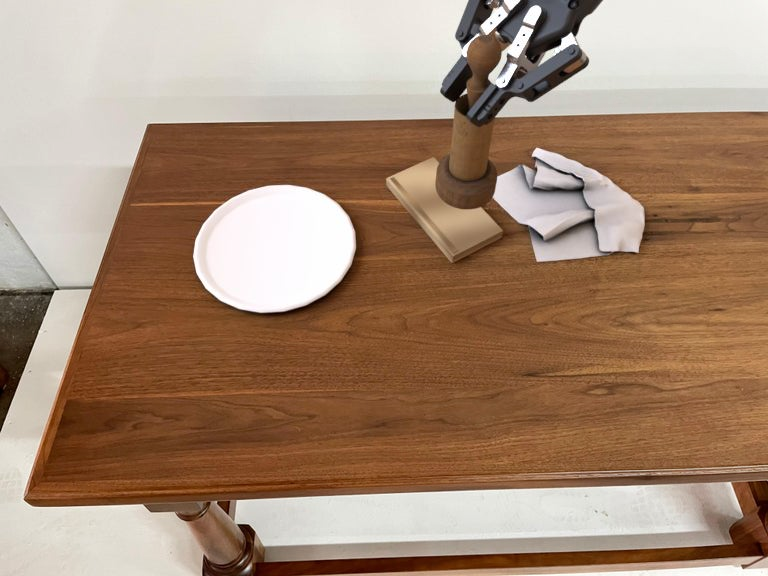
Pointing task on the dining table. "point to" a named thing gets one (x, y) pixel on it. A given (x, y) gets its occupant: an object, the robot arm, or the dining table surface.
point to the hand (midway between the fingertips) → (460, 109)
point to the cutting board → (442, 213)
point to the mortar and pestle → (471, 137)
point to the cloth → (570, 209)
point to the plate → (274, 249)
